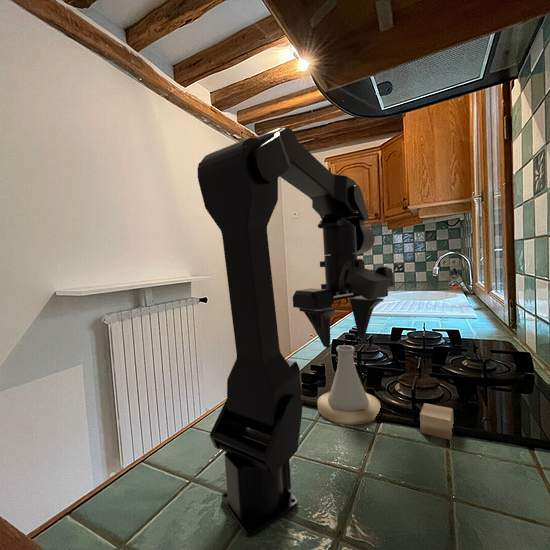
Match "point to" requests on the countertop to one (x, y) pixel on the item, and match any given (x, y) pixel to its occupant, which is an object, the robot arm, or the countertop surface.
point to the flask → (347, 383)
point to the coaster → (349, 416)
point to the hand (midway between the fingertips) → (345, 341)
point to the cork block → (436, 421)
